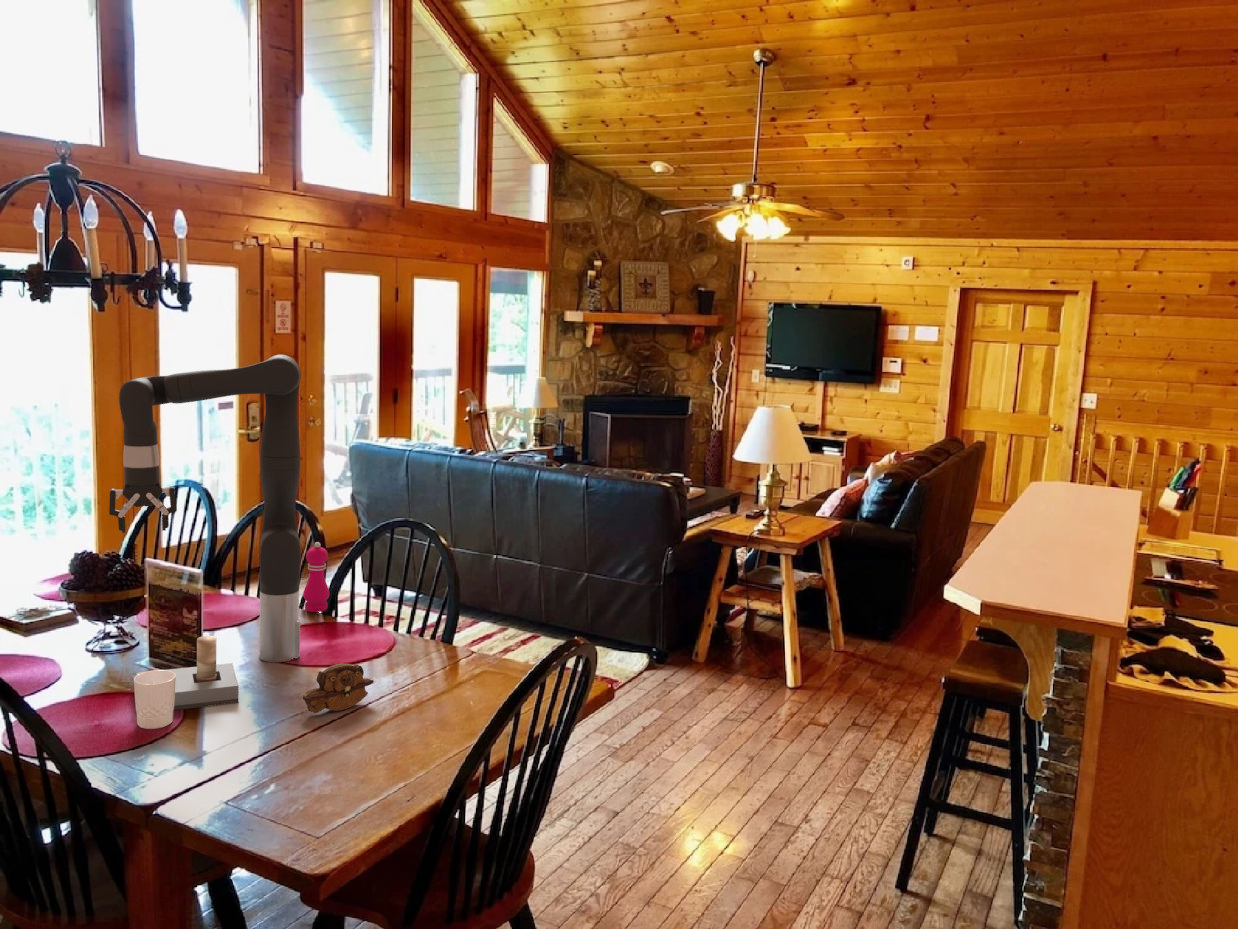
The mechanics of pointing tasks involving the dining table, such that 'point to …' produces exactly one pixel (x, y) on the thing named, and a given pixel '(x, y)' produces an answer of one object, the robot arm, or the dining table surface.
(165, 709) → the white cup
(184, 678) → the socket board
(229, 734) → the dining table surface
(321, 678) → the wooden carving
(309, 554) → the pepper mill
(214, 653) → the birch peg
